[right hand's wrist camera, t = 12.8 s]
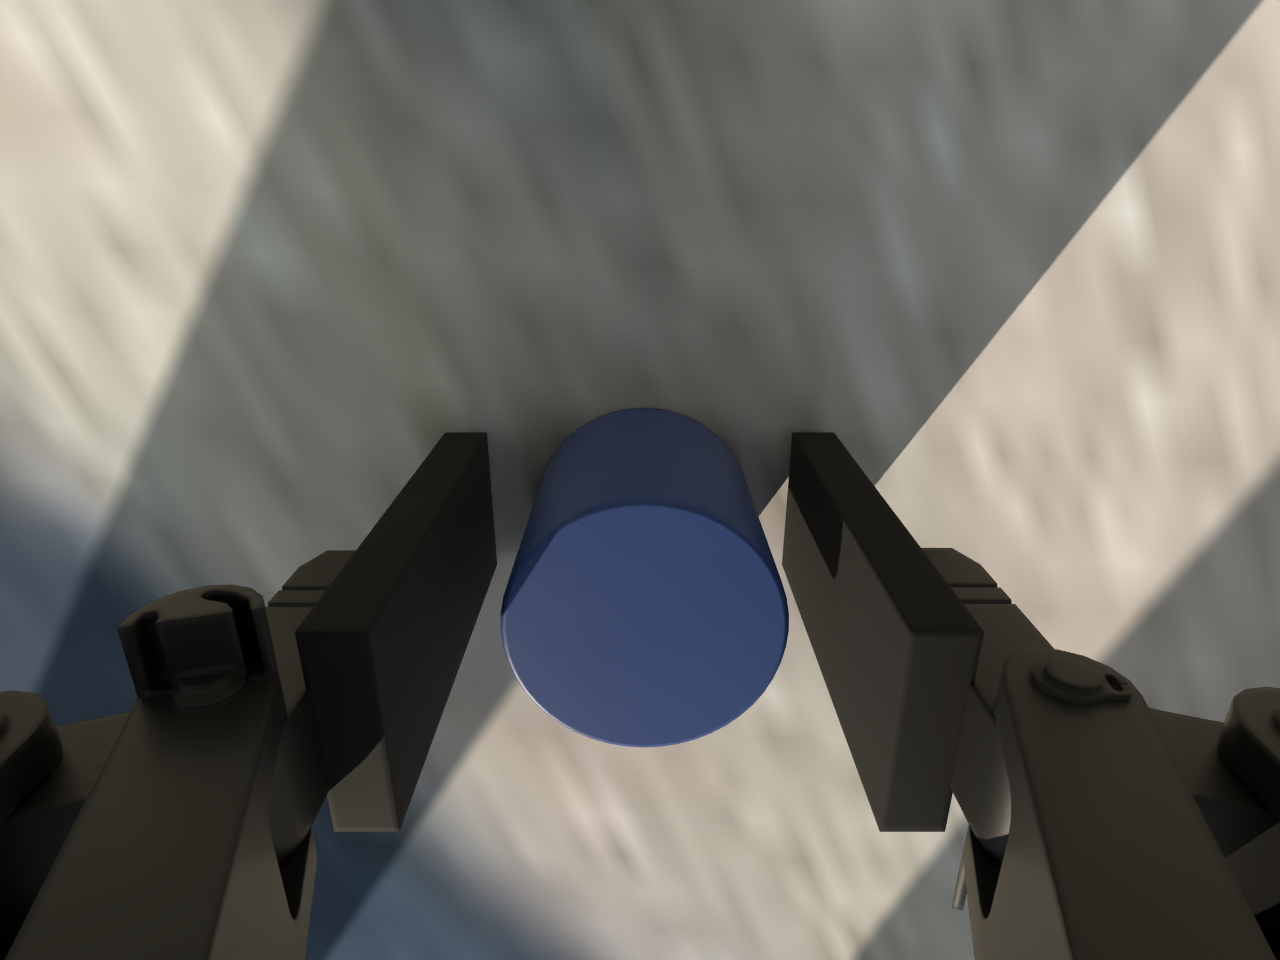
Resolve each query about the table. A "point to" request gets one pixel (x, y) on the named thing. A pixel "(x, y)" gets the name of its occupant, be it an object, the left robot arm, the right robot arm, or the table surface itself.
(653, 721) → the blue cylinder
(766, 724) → the table surface
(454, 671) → the right robot arm
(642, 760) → the table surface
